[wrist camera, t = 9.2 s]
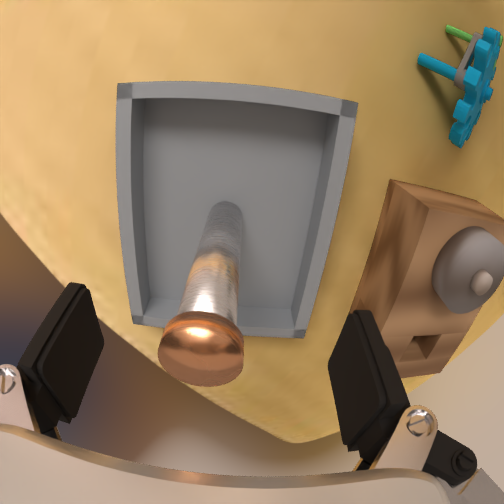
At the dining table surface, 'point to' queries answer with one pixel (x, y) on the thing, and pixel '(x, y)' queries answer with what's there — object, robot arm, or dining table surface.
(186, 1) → the dining table surface
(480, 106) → the gear
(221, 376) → the pin
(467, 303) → the tensioner block
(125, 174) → the tray
